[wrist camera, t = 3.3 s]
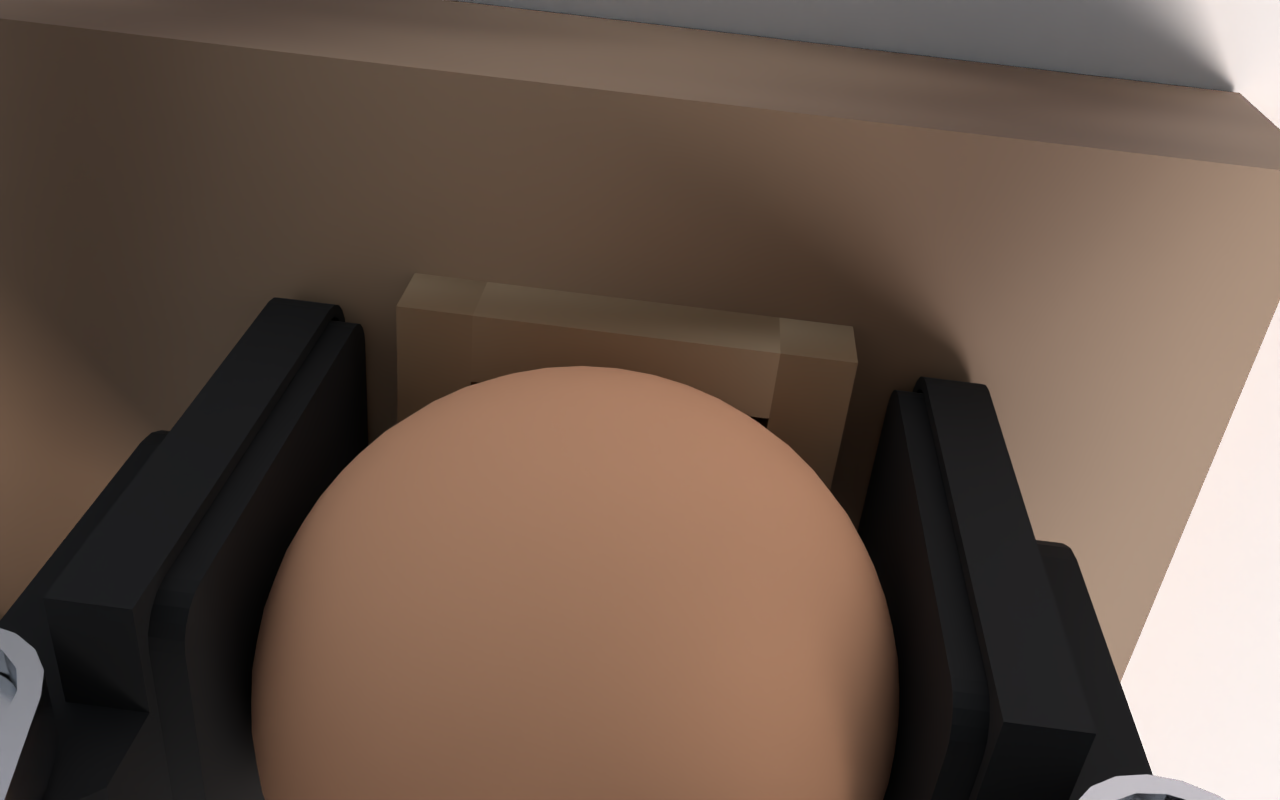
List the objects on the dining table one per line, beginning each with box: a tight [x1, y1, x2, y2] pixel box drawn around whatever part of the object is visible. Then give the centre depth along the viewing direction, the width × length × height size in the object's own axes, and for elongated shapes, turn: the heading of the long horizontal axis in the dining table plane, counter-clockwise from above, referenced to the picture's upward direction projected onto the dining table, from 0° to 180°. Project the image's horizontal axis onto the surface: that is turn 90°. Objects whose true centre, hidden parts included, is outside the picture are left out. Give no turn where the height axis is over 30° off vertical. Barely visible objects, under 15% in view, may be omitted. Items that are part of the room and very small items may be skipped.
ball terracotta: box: [251, 366, 899, 800], centre depth 9 cm, size 4×4×4 cm
